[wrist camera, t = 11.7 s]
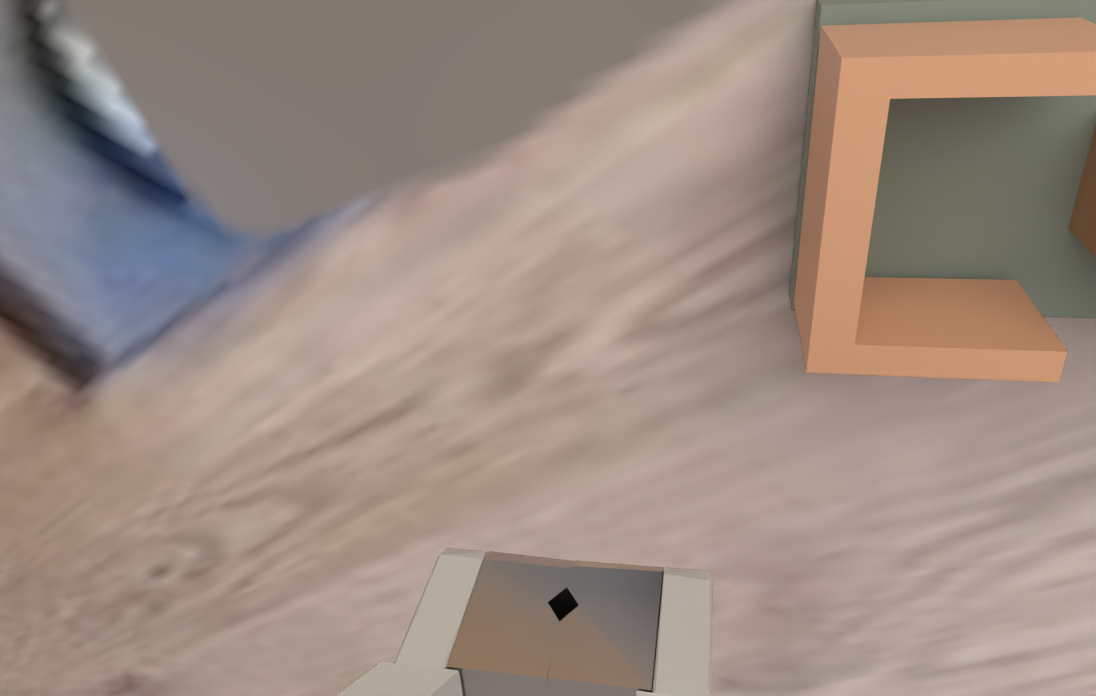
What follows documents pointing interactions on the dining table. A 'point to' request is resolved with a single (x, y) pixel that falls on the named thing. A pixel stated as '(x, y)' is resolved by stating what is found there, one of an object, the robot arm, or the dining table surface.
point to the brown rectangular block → (1086, 203)
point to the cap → (851, 186)
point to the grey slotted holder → (975, 171)
